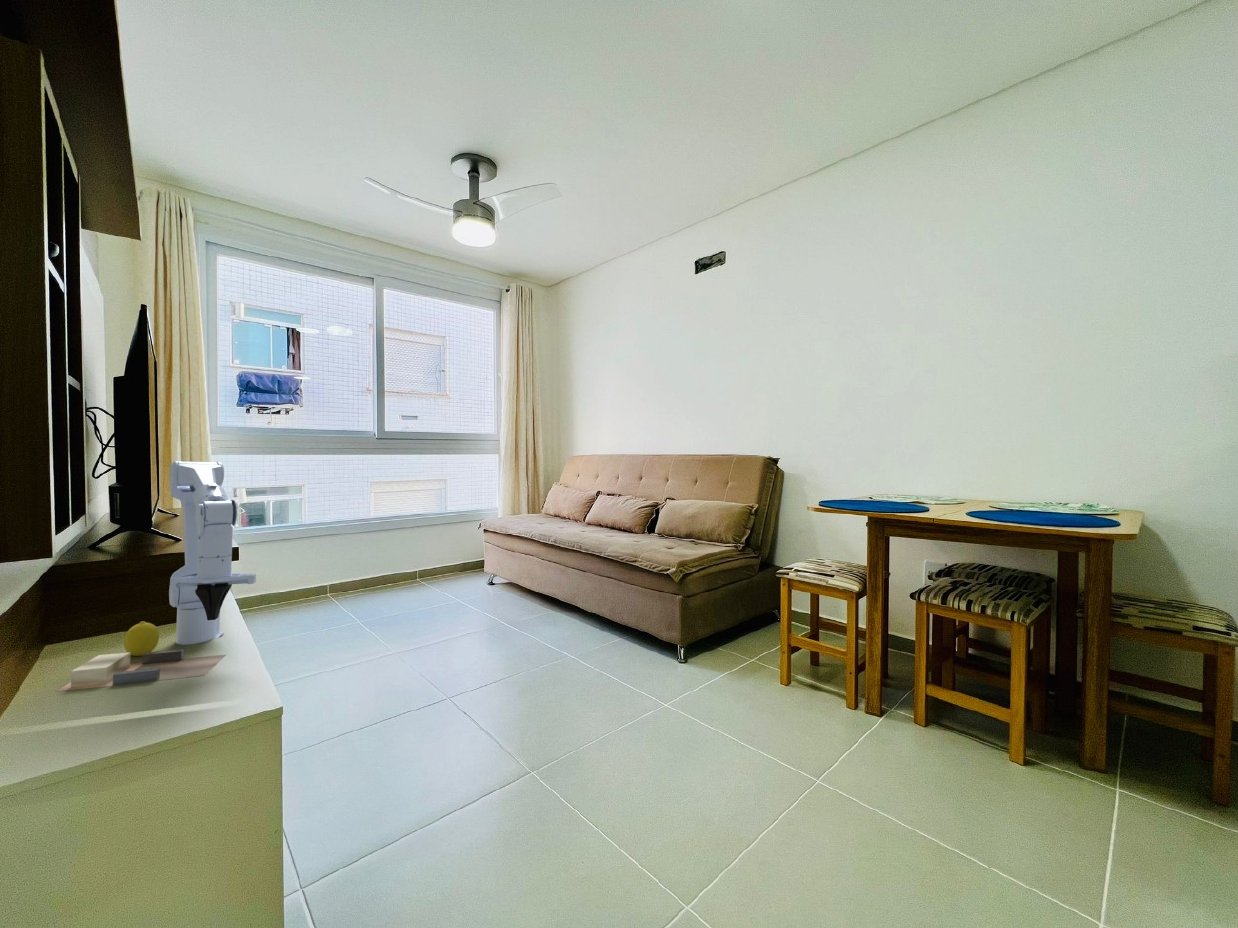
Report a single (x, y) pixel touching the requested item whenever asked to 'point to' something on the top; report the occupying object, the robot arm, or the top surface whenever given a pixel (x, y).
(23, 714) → the top surface
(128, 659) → the block
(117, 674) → the channel
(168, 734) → the top surface
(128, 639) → the lemon
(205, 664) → the board
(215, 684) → the top surface
